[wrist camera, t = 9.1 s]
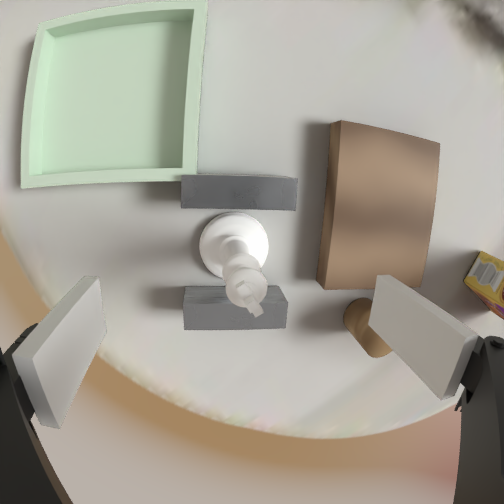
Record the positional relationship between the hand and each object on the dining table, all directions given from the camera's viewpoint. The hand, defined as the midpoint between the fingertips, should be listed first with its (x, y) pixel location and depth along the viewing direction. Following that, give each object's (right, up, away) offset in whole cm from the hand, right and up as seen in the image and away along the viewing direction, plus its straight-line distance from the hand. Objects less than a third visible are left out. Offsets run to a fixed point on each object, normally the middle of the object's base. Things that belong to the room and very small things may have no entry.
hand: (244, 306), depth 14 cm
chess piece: (-1, +3, +9) cm, 9 cm away
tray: (-9, +13, +4) cm, 17 cm away
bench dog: (+10, -3, +12) cm, 16 cm away
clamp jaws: (-1, +3, +9) cm, 9 cm away
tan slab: (+10, +6, +10) cm, 15 cm away
